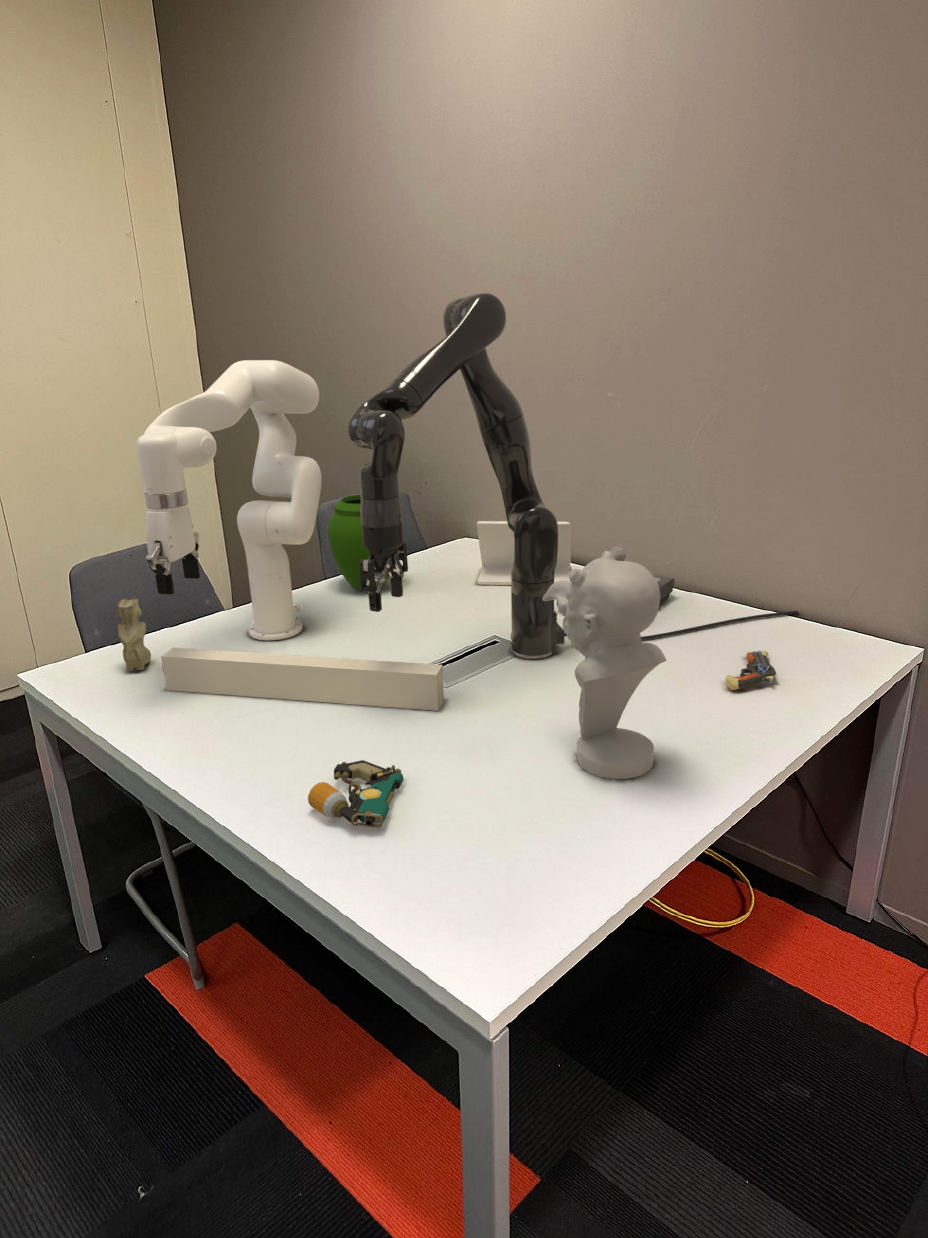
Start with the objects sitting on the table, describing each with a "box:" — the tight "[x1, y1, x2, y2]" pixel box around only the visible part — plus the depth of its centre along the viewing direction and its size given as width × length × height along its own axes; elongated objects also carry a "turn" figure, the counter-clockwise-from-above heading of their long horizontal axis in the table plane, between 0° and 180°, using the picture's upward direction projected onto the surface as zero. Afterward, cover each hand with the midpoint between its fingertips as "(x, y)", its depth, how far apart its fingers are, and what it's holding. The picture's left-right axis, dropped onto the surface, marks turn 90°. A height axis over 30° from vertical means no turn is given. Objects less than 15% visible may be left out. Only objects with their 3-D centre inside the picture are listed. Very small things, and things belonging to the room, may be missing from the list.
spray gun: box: [307, 759, 404, 829], centre depth 133 cm, size 4×17×15 cm
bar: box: [160, 647, 445, 712], centre depth 169 cm, size 57×5×8 cm, turn 77°
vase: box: [327, 494, 391, 592], centre depth 229 cm, size 20×20×24 cm
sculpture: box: [116, 597, 152, 672], centre depth 183 cm, size 6×7×15 cm
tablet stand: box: [476, 520, 572, 586], centre depth 236 cm, size 18×25×17 cm
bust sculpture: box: [543, 550, 667, 780], centre depth 141 cm, size 16×24×35 cm, turn 28°
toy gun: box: [725, 650, 778, 691], centre depth 173 cm, size 3×19×10 cm
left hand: (179, 585), depth 168 cm, fingers open, 9 cm apart
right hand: (386, 603), depth 162 cm, fingers open, 8 cm apart
